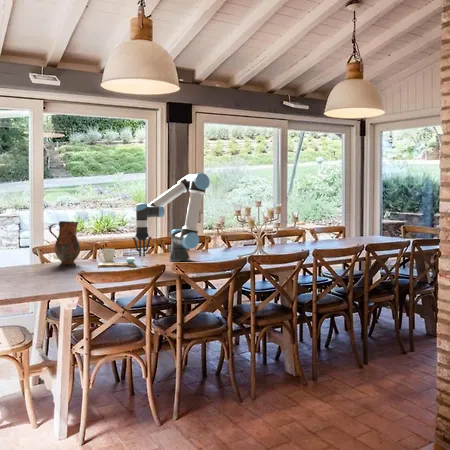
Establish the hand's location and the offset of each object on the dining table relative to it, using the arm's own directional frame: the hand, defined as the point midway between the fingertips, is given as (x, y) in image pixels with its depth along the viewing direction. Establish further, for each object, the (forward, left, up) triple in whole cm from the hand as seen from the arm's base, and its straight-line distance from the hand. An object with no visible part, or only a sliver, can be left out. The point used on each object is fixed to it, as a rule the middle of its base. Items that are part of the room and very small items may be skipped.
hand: (142, 261), depth 340 cm
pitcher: (+53, -13, -4) cm, 54 cm away
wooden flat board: (+17, 0, -4) cm, 17 cm away
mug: (+26, -19, -4) cm, 32 cm away
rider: (+8, 0, -3) cm, 8 cm away
